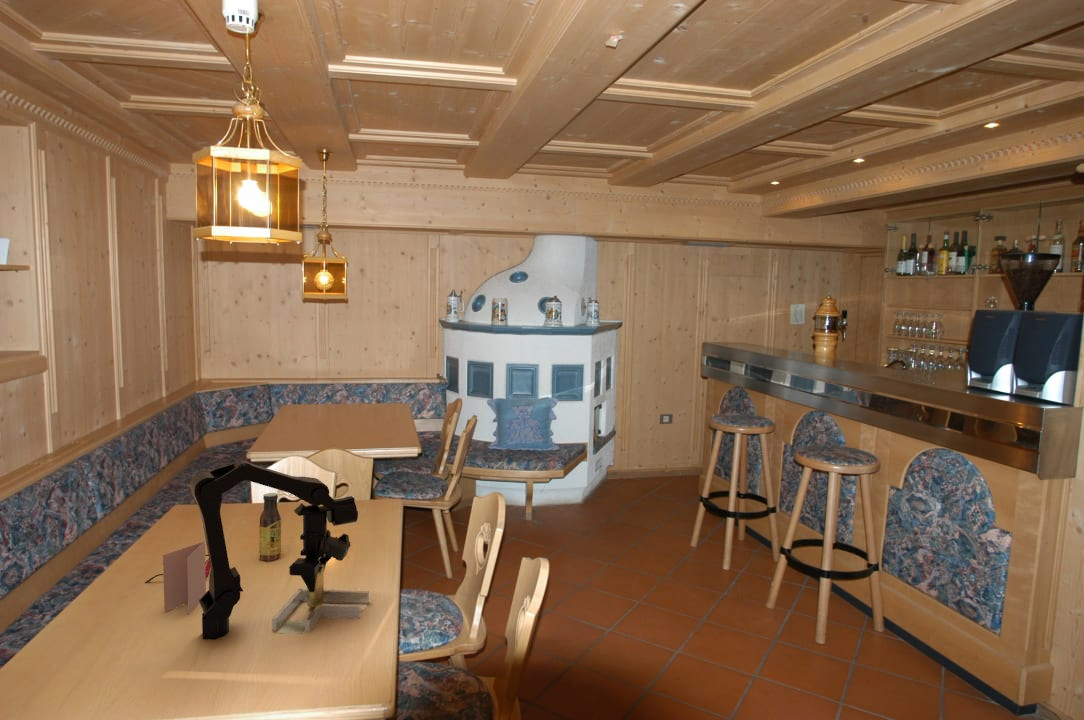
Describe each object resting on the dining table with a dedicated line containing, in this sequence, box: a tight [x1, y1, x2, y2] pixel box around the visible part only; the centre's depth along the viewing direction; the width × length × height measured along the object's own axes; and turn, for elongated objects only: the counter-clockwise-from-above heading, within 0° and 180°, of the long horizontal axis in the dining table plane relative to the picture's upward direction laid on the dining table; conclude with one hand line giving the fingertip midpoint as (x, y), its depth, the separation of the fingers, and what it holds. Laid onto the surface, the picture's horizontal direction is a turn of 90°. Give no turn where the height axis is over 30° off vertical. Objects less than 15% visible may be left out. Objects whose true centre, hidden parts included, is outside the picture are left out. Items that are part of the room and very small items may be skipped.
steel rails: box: [271, 588, 370, 633], centre depth 167 cm, size 16×18×3 cm
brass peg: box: [306, 562, 325, 608], centre depth 170 cm, size 4×4×10 cm
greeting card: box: [162, 540, 207, 616], centre depth 172 cm, size 11×7×15 cm, turn 152°
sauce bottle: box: [258, 492, 282, 562], centre depth 205 cm, size 7×6×20 cm
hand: (315, 588), depth 170 cm, fingers closed on brass peg, 4 cm apart
